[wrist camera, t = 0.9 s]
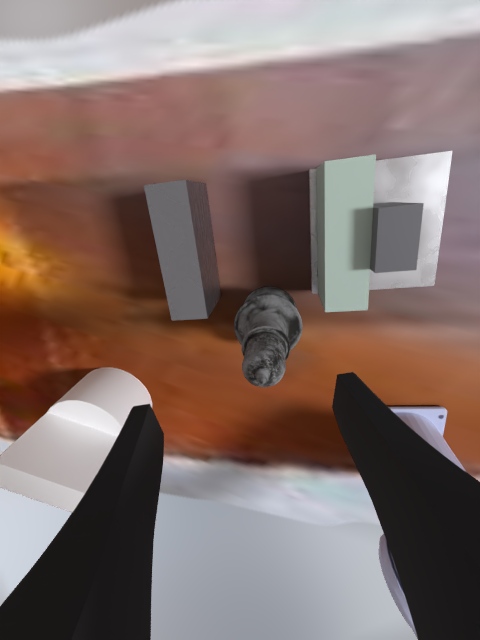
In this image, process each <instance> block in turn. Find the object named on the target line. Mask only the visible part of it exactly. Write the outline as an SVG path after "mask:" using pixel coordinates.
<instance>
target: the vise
mask: <svg viewBox="0 0 480 640" xmlns="http://www.w3.org/2000/svg"><path fill="white" fill-rule="evenodd" d="M451 157H452V151H447V152H439V153H432V154H424V155H416V156H408V157H401V158H393V159H385V160H378V161H376V163H375V182H374V201H373V204H378V203H387V202H403V203H424V205H423V214H422V223H421V232H420V242H419V251H418V260H417V269H416V270H411V271H398V272H384V273H374V272H373V271H372V270H370V277H369V290H375V289H391V288H406V287H422V286H434V283H435V276H436V268H437V261H438V254H439V246H440V239H441V231H442V224H443V217H444V209H445V202H446V194H447V187H448V180H449V172H450V165H451ZM144 190H145V194H146V199H147V204H148V209H149V214H150V219H151V223H152V228H153V233H154V238H155V243H156V247H157V252H158V257H159V262H160V267H161V272H162V276H163V281H164V286H165V291H166V296H167V301H168V305H169V310H170V315H171V320H172V321H174V320H192V319H208V317H209V316H210V314H211V312H212V311H213V309H214V307H215V306H216V304H217V303H218V301H219V299H220V298H221V290H220V283H219V276H218V268H217V261H216V254H215V247H214V239H213V232H212V225H211V217H210V210H209V203H208V195H207V188H206V184H205V183H200V182H194V181H189V180H181V181H173V182H166V183H158V184H150V185H144ZM309 214H310V261H311V292H312V294H313V293H318V230H317V168H316V169H309Z"/></svg>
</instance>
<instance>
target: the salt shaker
mask: <svg viewBox="0 0 480 640" xmlns="http://www.w3.org/2000/svg"><path fill="white" fill-rule="evenodd" d="M302 326H303V325H302V320H301V316H300V314H299V312H298V310H297V309H296V304H295V302H294V300H293V298H292V297H291V296H290V295H289V294H288V293H287V292H285V291H284V290H282V289H279V288H276V287H263V288H259V289H257V290H255V291H253V292H252V293H251V294H250V295H249V296H248V297H247V299H246V300H245V302H244V304H243V305H242V306H241V307H240V309H239V310H238V312H237V314H236V317H235V321H234V330H235V334H236V337H237V339H238V341H239V342H240V344H241V345H242V353H243V356H244V359H243V363H242V370H243V374H244V376H245V378H246V379H247V380H248V381H249V382H250V383H251V384H253V385H255V386H259V387H269V386H272V385H275V384H276V383H278V382H279V381H280V380H281V379H282V377H283V375H284V372H285V360H286V359H287V358H288V355H289V353H290V350H291V349H293V348H294V347H295V345H296V344H297V343H298V341H299V339H300V337H301V334H302Z"/></svg>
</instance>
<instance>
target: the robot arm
mask: <svg viewBox="0 0 480 640" xmlns="http://www.w3.org/2000/svg"><path fill="white" fill-rule="evenodd" d="M332 408H333V411H334V414H335V417H336V420H337V423H338V426H339V429H340V432H341V434H342V436H343V439H344V441H345V443H346V445H347V447H348V449H349V452H350V454H351V456H352V458H353V460H354V462H355V464H356V467H357V469H358V471H359V473H360V475H361V477H362V479H363V482H364V484H365V486H366V488H367V490H368V492H369V495H370V497H371V500H372V502H373V505H374V507H375V510H376V513H377V515H378V518H379V521H380V524H381V526H382V529H383V532H384V534H383V535H382V536H381V537H380V543H379V545H380V546H379V559H380V564H381V568H382V572H383V575H384V578H385V580H386V583H387V585H388V588H389V590H390V592H391V595H392V597H393V599H394V601H395V603H396V605H397V607H398V609H399V611H400V612H401V614H402V616H403V617H404V619H405V620H406V622H407V623H408V624H409V626H410V627H411V628H412V630H413V632H414V633H415V635H416V637H417V639H418V640H480V482H479V481H478V480H476V479H475V478H474V477H472V476H471V475H469V474H468V473H467V472H466V471H465V469H464V468H463V466H462V465H461V463H460V462H459V460H458V459H457V458H456V456H455V455H454V453H453V452H452V450H451V449H450V447H449V446H448V444H447V443H446V441H445V440H444V438H443V432H444V427H445V421H446V416H447V410H446V409H445V408H444V407H388V406H387V405H385V404H384V403H383V402H382V401H381V400H380V399H379V398H378V397H377V396H376V395H375V394H374V393H373V392H372V391H371V390H370V389H369V388H368V387H367V386H366V385H365V384H364V383H363V381H362V380H361V379H360V378H359V377H358V376H357V375H356V374H355V373H353V372H351V373H345V374H338V375H337V380H336V386H335V393H334V399H333V406H332ZM439 415H441V416H439ZM163 450H164V433H163V431H162V429H161V427H160V425H159V423H158V420H157V418H156V416H155V414H154V412H153V410H152V407H151V405H150V404H145V405H138V406H133V408H132V409H131V411H130V413H129V415H128V417H127V419H126V421H125V423H124V425H123V427H122V429H121V431H120V433H119V435H118V437H117V439H116V441H115V442H114V444H113V446H112V448H111V450H110V452H109V453H108V455H107V457H106V459H105V461H104V462H103V464H102V466H101V468H100V469H99V471H98V473H97V474H96V476H95V478H94V479H93V481H92V483H91V484H90V486H89V488H88V489H87V491H86V492H85V494H84V496H83V497H82V499H81V500H80V502H79V503H78V505H77V506H76V508H75V509H74V511H73V512H72V514H71V515H70V517H69V518H68V520H67V521H66V523H65V524H64V526H63V527H62V528H61V530H60V531H59V533H58V534H57V535H56V537H55V538H54V539H53V541H52V542H51V543H50V545H49V546H48V547H47V549H46V550H45V552H44V553H43V554H42V555H41V557H40V558H39V559H38V561H37V562H36V563H35V565H34V566H33V567H32V568H31V570H30V571H29V572H28V573H27V575H26V576H25V577H24V578H23V579H22V581H21V582H20V583H19V584H18V585H17V587H16V588H15V589H14V590H13V592H12V593H11V594H10V595H9V596H8V598H7V599H6V600H5V601H4V602H3V604H2V605H1V606H0V640H150V636H151V634H150V632H151V631H150V630H151V584H152V559H153V539H154V528H155V520H156V512H157V505H158V497H159V490H160V482H161V475H162V467H163Z"/></svg>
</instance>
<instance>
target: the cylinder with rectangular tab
mask: <svg viewBox="0 0 480 640" xmlns="http://www.w3.org/2000/svg"><path fill="white" fill-rule="evenodd" d="M145 404H150V405H151V407H152V401H151V397H150V395H149V393H148V391H147V389H146V387H145V386H144V385H143V384H142V383H141V382H140V381H139V380H138V379H137V378H135V377H134V376H133V375H131V374H130V373H127V372H125V371H123V370H120V369H116V368H112V367H103V368H99V369H95V370H93V371H91V372H90V373H88V374H87V375H86V376H85V377H83V378H82V379H81V380H80V381H79V382H78V383H77V384H76V385H75V386H74V387H72V388H71V389H70V390H69V391H68V392H67V393H66V394H65V395H64V396H63V397H61V398H60V399H59V400H58V401H57V402H56V403H55V404H54V405H53V406H52V407H50V409H49V410H48V412H47V413H46V414H45V415H43V416H42V417H41V418H40V419H39V420H38V421H37V422H36V423H35V424H34V425H33V426H31V427H30V428H29V429H28V430H27V431H26V432H25V433H24V434H23V435H22V436H21V437H19V438H18V439H17V440H16V441H15V442H14V443H13V444H12V445H11V446H10V447H9V448H7V449H6V450H5V451H4V452H3V453H2V454H1V455H0V488H3V489H6V490H8V491H12V492H14V493H17V494H20V495H23V496H26V497H29V498H32V499H35V500H37V501H40V502H43V503H46V504H49V505H52V506H55V507H58V508H61V509H64V510H66V511H69V512H73V511H74V509H75V508H76V506H77V505H78V503H79V502H80V500H81V499H82V497H83V496H84V494H85V492H86V491H87V489H88V488H89V486H90V484H91V483H92V481H93V479H94V478H95V476H96V474H97V473H98V471H99V469H100V468H101V466H102V464H103V462H104V461H105V459H106V457H107V455H108V453H109V452H110V450H111V448H112V446H113V444H114V442H115V441H116V439H117V437H118V435H119V433H120V431H121V429H122V427H123V425H124V423H125V421H126V419H127V417H128V415H129V413H130V411H131V409H132V408H133V406H138V405H145Z"/></svg>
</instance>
